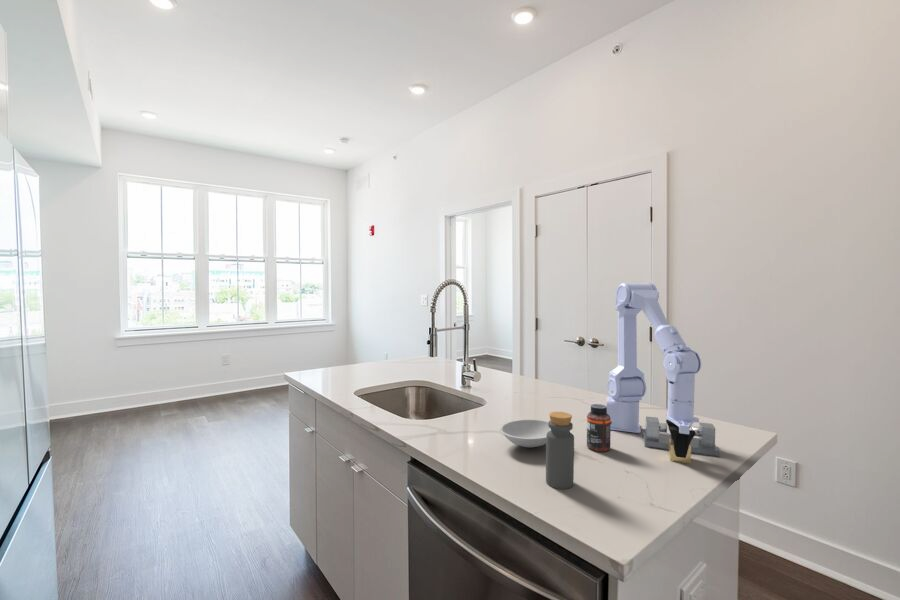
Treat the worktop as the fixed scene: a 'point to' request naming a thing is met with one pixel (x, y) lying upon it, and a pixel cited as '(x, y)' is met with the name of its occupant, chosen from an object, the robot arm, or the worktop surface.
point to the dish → (526, 432)
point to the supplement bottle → (598, 428)
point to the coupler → (673, 455)
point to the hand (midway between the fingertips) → (679, 453)
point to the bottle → (560, 451)
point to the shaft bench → (661, 441)
